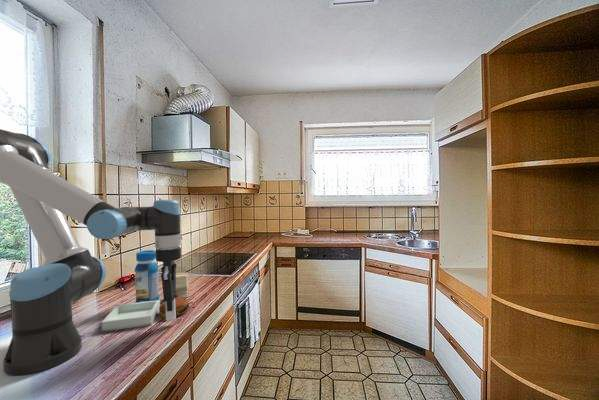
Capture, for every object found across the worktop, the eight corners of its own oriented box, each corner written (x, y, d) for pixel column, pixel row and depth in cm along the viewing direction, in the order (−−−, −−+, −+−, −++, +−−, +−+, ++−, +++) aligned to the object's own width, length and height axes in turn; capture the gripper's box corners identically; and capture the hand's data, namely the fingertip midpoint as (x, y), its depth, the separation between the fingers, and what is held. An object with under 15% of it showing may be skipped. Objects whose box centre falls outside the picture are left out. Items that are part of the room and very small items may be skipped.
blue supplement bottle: (161, 302, 109) (159, 252, 108) (136, 308, 104) (134, 255, 103) (158, 296, 115) (156, 248, 115) (134, 301, 111) (132, 251, 110)
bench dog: (187, 297, 114) (186, 275, 113) (173, 298, 112) (173, 276, 112) (188, 293, 118) (187, 272, 118) (175, 294, 117) (175, 273, 117)
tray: (151, 324, 90) (151, 315, 90) (101, 331, 86) (101, 322, 86) (160, 307, 104) (160, 299, 104) (117, 313, 100) (117, 304, 100)
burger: (153, 317, 96) (152, 304, 96) (171, 306, 105) (170, 294, 105) (178, 320, 94) (177, 306, 94) (194, 308, 103) (194, 296, 103)
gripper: (177, 250, 84) (180, 326, 85) (183, 243, 97) (185, 309, 98) (150, 252, 82) (153, 330, 83) (159, 244, 95) (162, 312, 96)
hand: (170, 319), depth 90 cm, fingers closed
